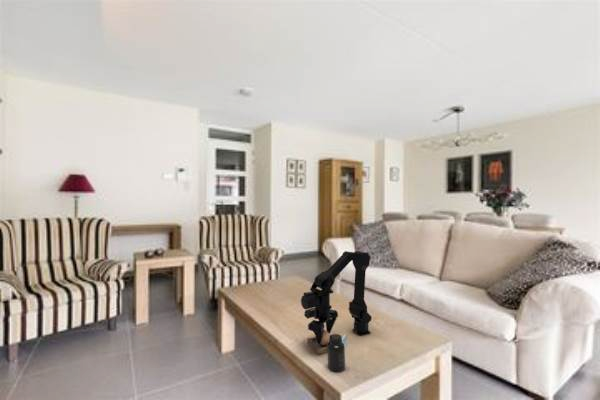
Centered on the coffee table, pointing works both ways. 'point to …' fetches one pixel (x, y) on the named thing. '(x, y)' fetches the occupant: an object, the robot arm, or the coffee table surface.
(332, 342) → the supplement bottle
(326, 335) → the ball
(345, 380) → the coffee table surface
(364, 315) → the robot arm
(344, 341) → the light blue ledge shelf
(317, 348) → the walnut tray
